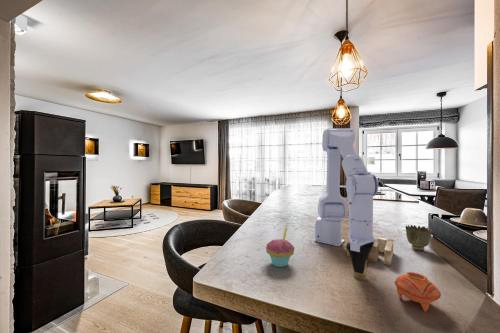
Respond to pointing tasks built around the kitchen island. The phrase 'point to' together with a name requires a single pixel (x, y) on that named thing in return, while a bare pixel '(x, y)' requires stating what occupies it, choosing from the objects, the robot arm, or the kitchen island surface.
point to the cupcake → (280, 251)
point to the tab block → (372, 258)
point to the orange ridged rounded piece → (417, 289)
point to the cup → (418, 237)
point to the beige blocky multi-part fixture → (383, 249)
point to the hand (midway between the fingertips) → (360, 269)
